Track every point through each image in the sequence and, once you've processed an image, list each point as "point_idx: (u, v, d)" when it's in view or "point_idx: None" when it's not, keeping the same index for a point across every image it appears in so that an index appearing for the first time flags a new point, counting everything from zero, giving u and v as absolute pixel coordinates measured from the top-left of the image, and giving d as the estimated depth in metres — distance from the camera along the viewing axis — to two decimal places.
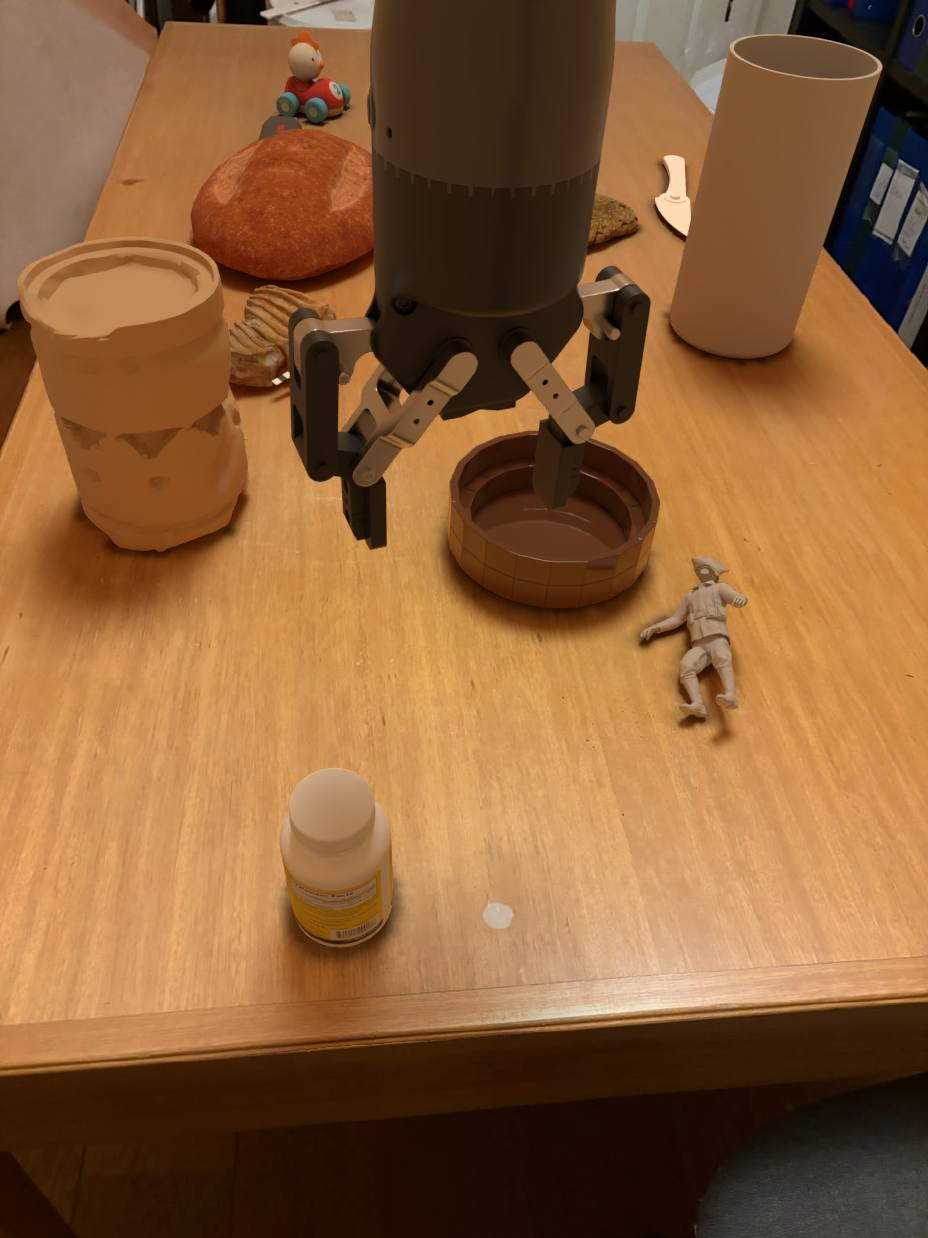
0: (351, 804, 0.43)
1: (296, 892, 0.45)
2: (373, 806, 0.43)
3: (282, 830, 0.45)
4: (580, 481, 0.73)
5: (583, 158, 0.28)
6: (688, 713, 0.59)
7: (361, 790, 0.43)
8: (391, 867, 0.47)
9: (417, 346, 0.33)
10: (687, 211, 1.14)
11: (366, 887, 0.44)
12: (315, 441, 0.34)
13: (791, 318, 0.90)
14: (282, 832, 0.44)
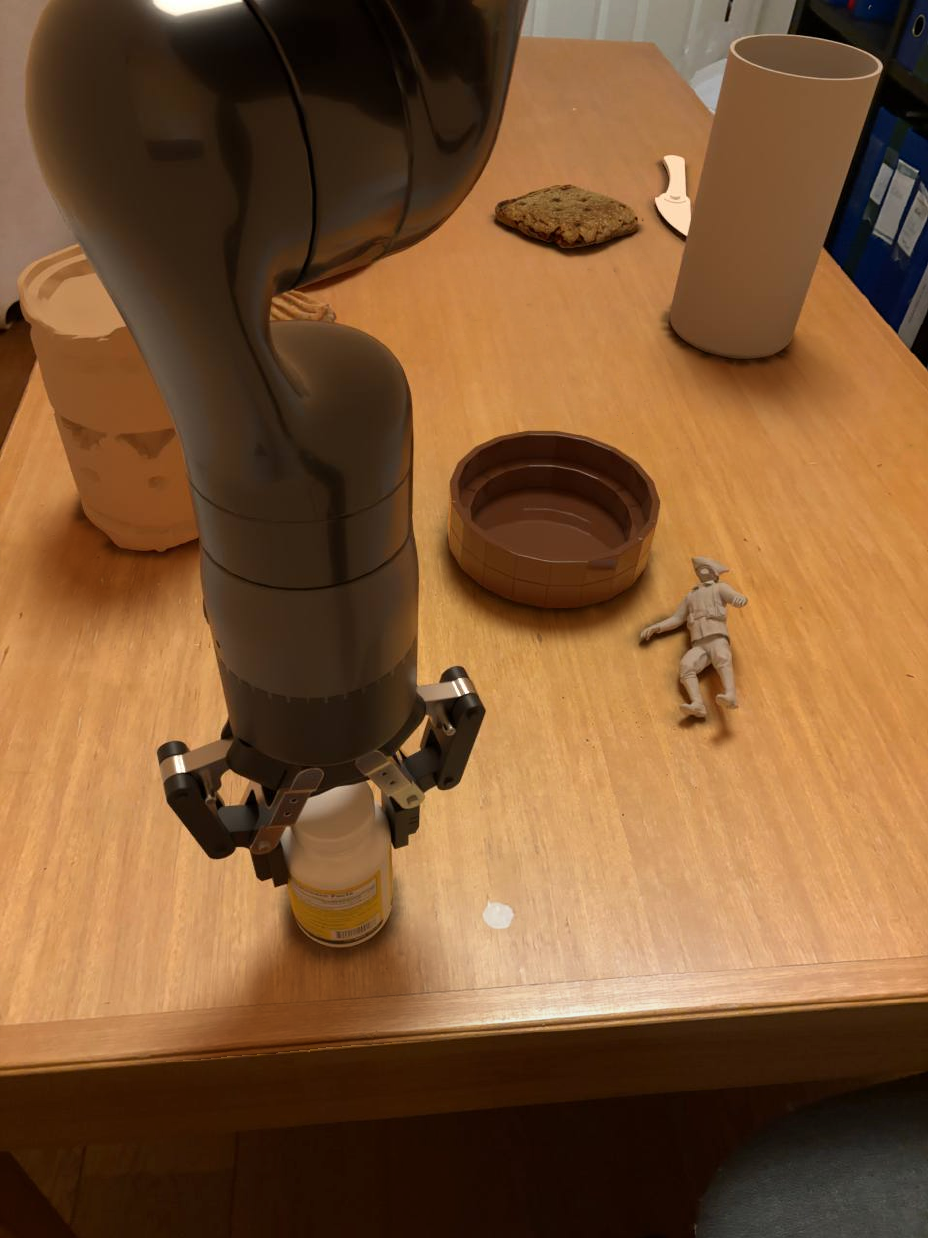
0: (351, 804, 0.43)
1: (296, 892, 0.45)
2: (373, 806, 0.43)
3: None
4: (580, 481, 0.73)
5: (391, 660, 0.32)
6: (688, 713, 0.59)
7: (361, 790, 0.43)
8: (391, 867, 0.47)
9: (267, 762, 0.37)
10: (687, 211, 1.14)
11: (366, 887, 0.44)
12: (205, 840, 0.39)
13: (791, 318, 0.89)
14: None
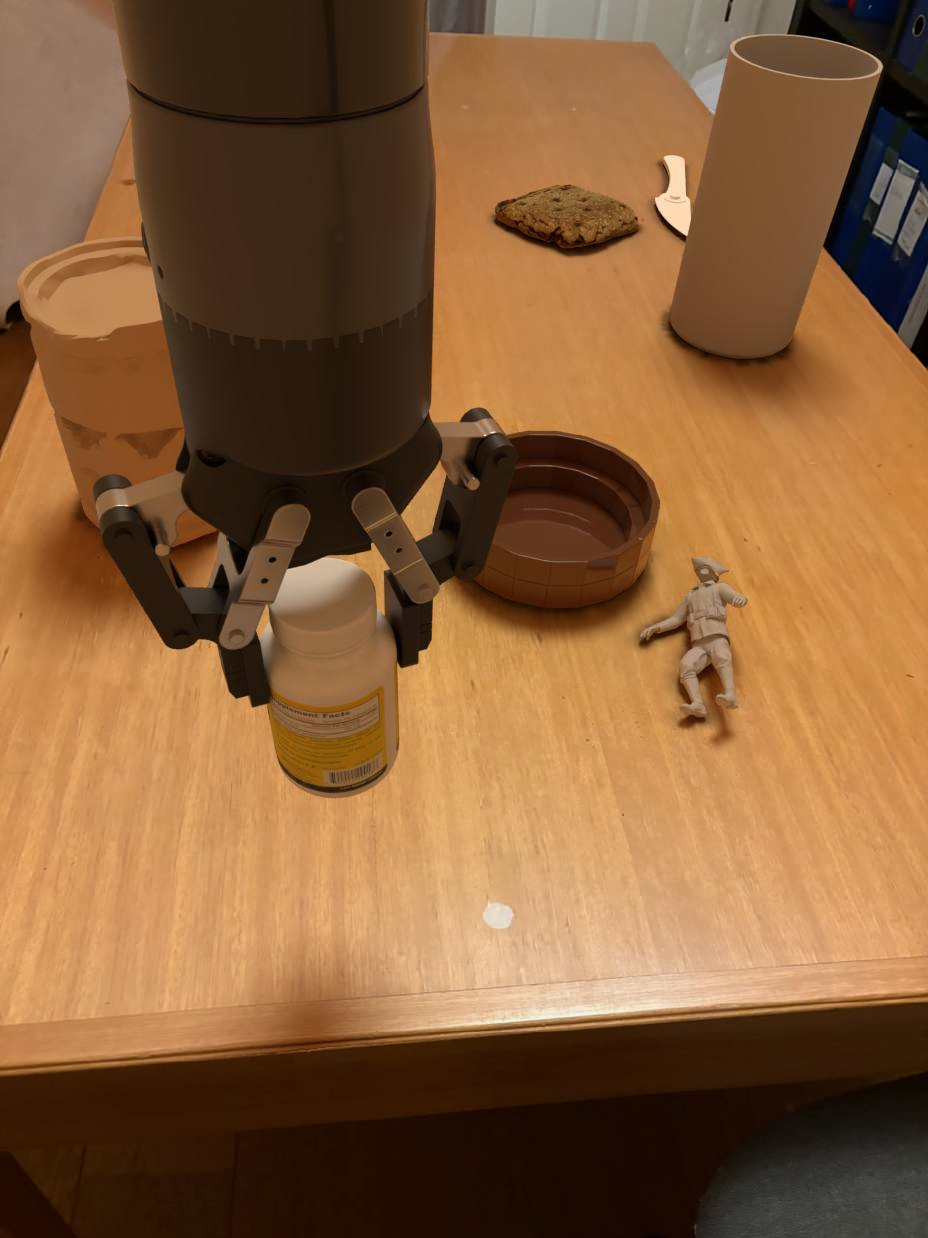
0: (347, 595, 0.34)
1: (279, 718, 0.36)
2: (374, 597, 0.34)
3: (261, 638, 0.36)
4: (580, 481, 0.73)
5: (399, 299, 0.23)
6: (688, 713, 0.59)
7: (359, 580, 0.35)
8: (397, 694, 0.38)
9: (236, 497, 0.28)
10: (687, 211, 1.14)
11: (366, 707, 0.36)
12: (159, 615, 0.30)
13: (791, 318, 0.89)
14: (261, 640, 0.36)
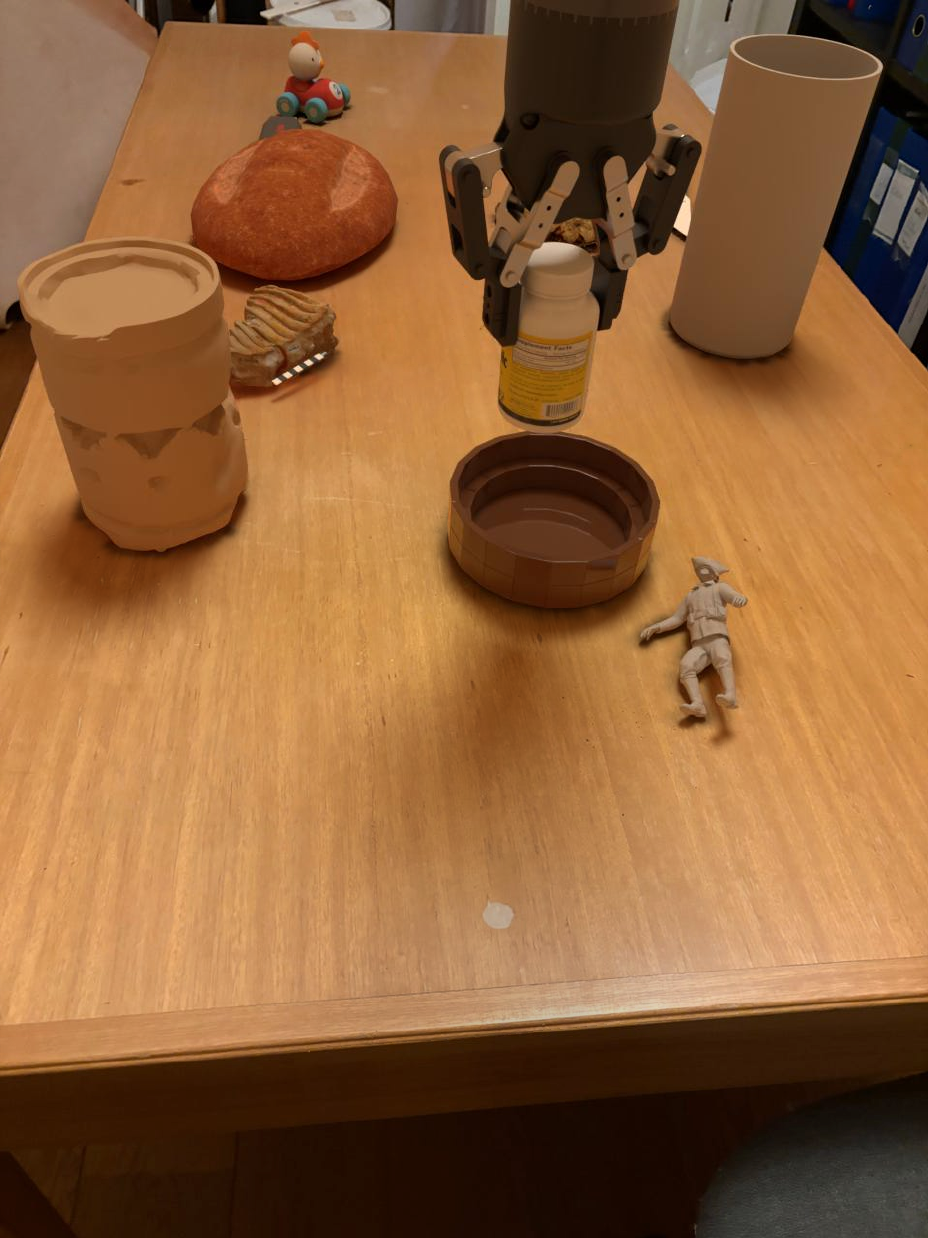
0: (575, 259, 0.50)
1: (518, 357, 0.53)
2: (593, 261, 0.50)
3: None
4: (580, 481, 0.73)
5: None
6: (688, 713, 0.59)
7: (581, 252, 0.51)
8: (593, 352, 0.54)
9: (535, 157, 0.45)
10: (687, 211, 1.14)
11: (581, 345, 0.52)
12: (472, 246, 0.47)
13: (791, 318, 0.89)
14: None
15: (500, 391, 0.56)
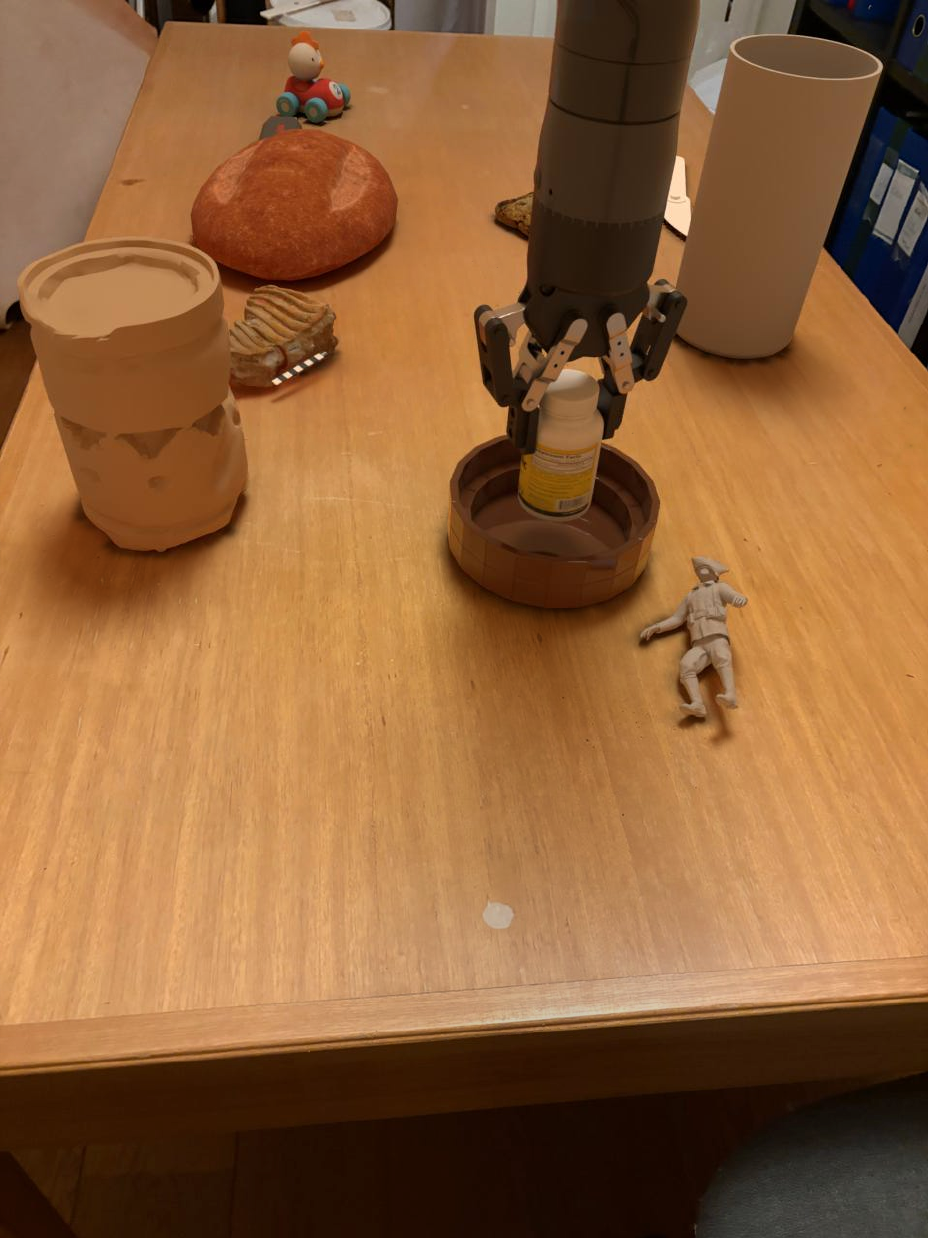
0: (583, 385, 0.61)
1: (536, 463, 0.63)
2: (598, 387, 0.61)
3: None
4: None
5: (659, 205, 0.50)
6: (688, 713, 0.59)
7: (588, 379, 0.62)
8: None
9: (552, 315, 0.55)
10: (687, 211, 1.14)
11: (589, 454, 0.62)
12: (500, 383, 0.57)
13: (791, 318, 0.89)
14: None
15: (520, 487, 0.66)
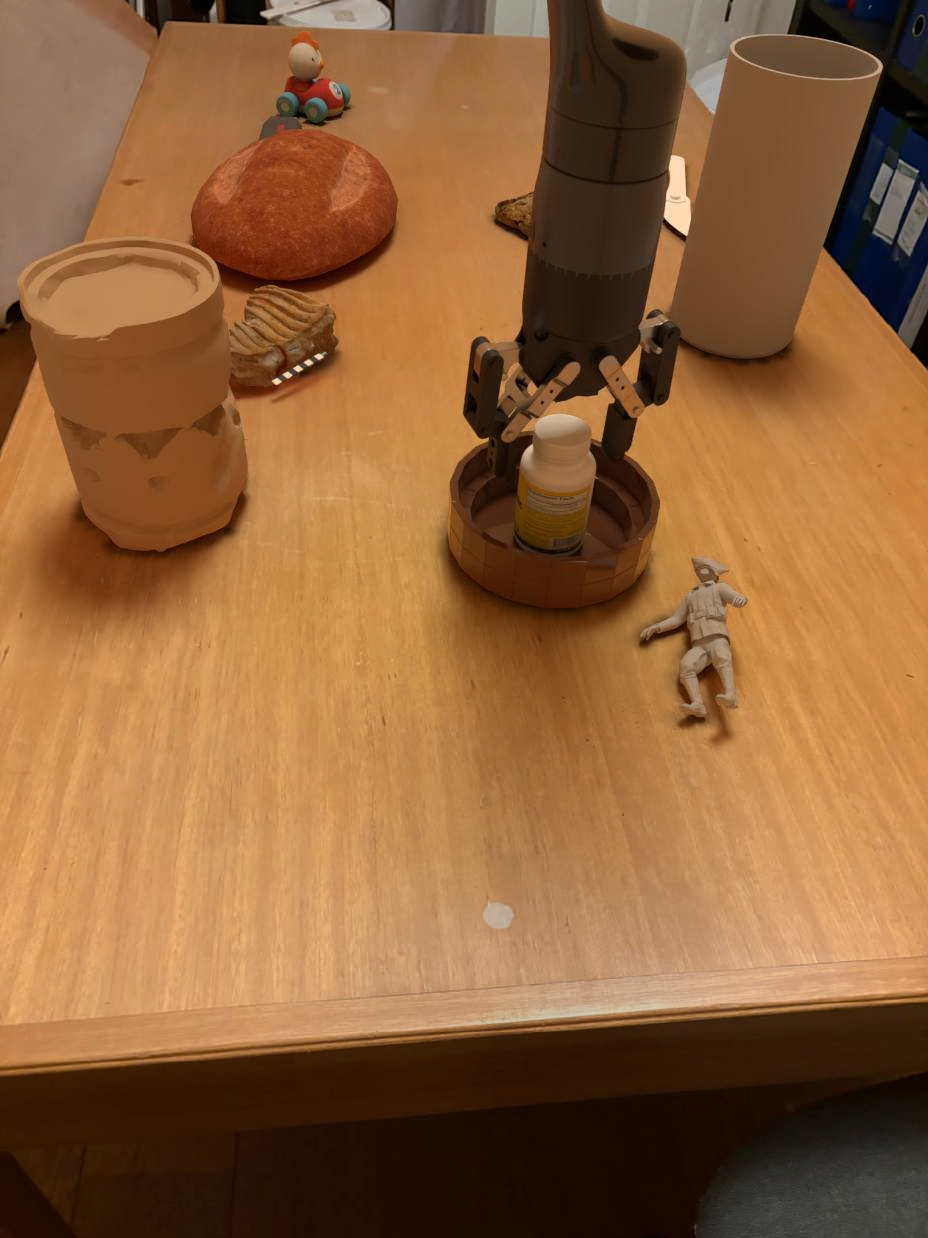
0: (576, 431, 0.64)
1: (531, 503, 0.66)
2: (591, 432, 0.64)
3: (523, 458, 0.65)
4: None
5: (648, 257, 0.53)
6: (688, 713, 0.59)
7: (581, 424, 0.64)
8: (591, 496, 0.67)
9: (546, 358, 0.57)
10: (687, 211, 1.14)
11: (582, 495, 0.65)
12: (483, 414, 0.59)
13: (791, 318, 0.89)
14: (523, 459, 0.65)
15: (516, 524, 0.69)
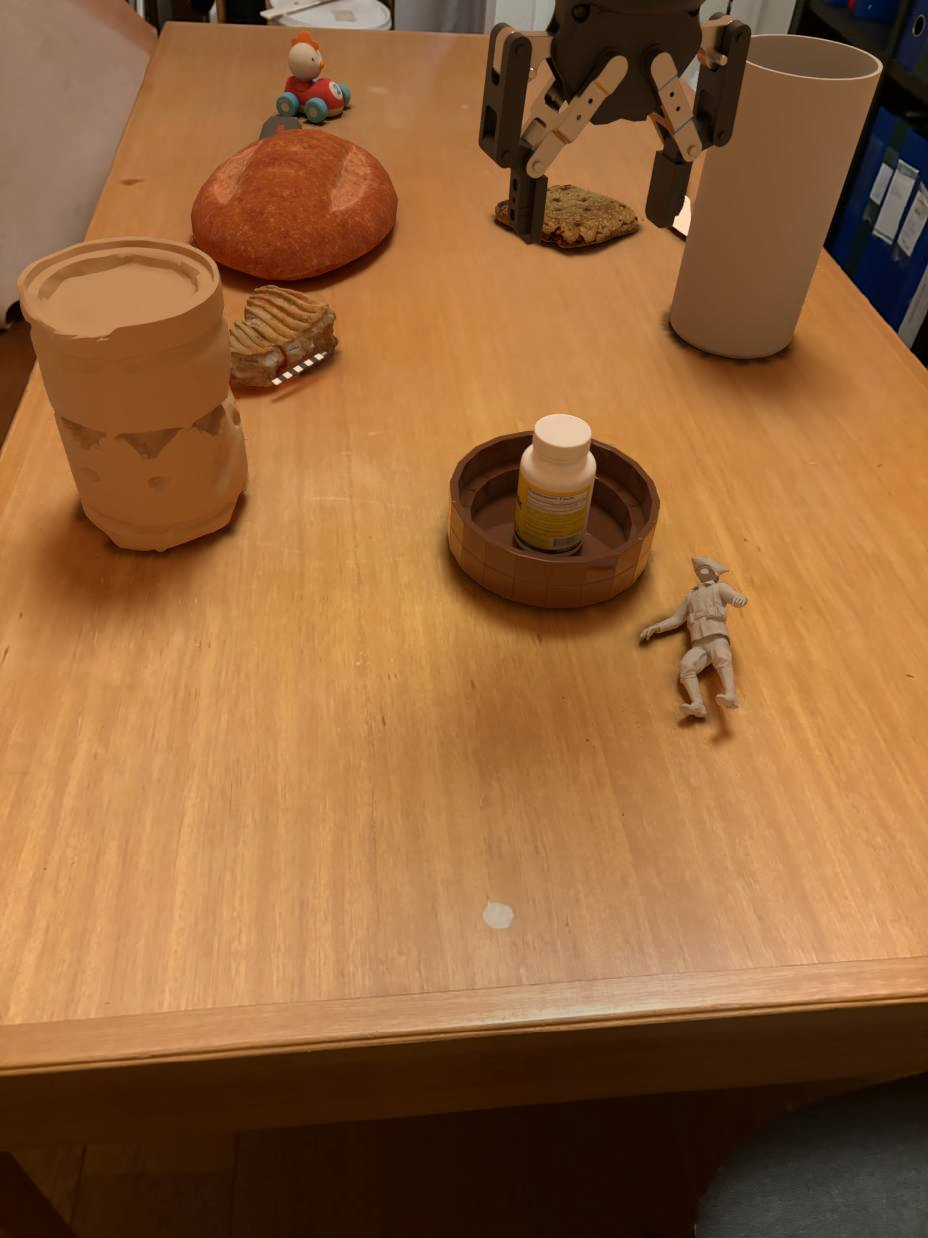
0: (576, 431, 0.64)
1: (531, 503, 0.66)
2: (591, 432, 0.64)
3: (523, 458, 0.65)
4: None
5: None
6: (688, 713, 0.59)
7: (581, 424, 0.64)
8: (591, 496, 0.67)
9: (585, 51, 0.45)
10: (687, 211, 1.14)
11: (582, 495, 0.65)
12: (505, 128, 0.47)
13: (791, 318, 0.89)
14: (523, 459, 0.65)
15: (516, 524, 0.69)
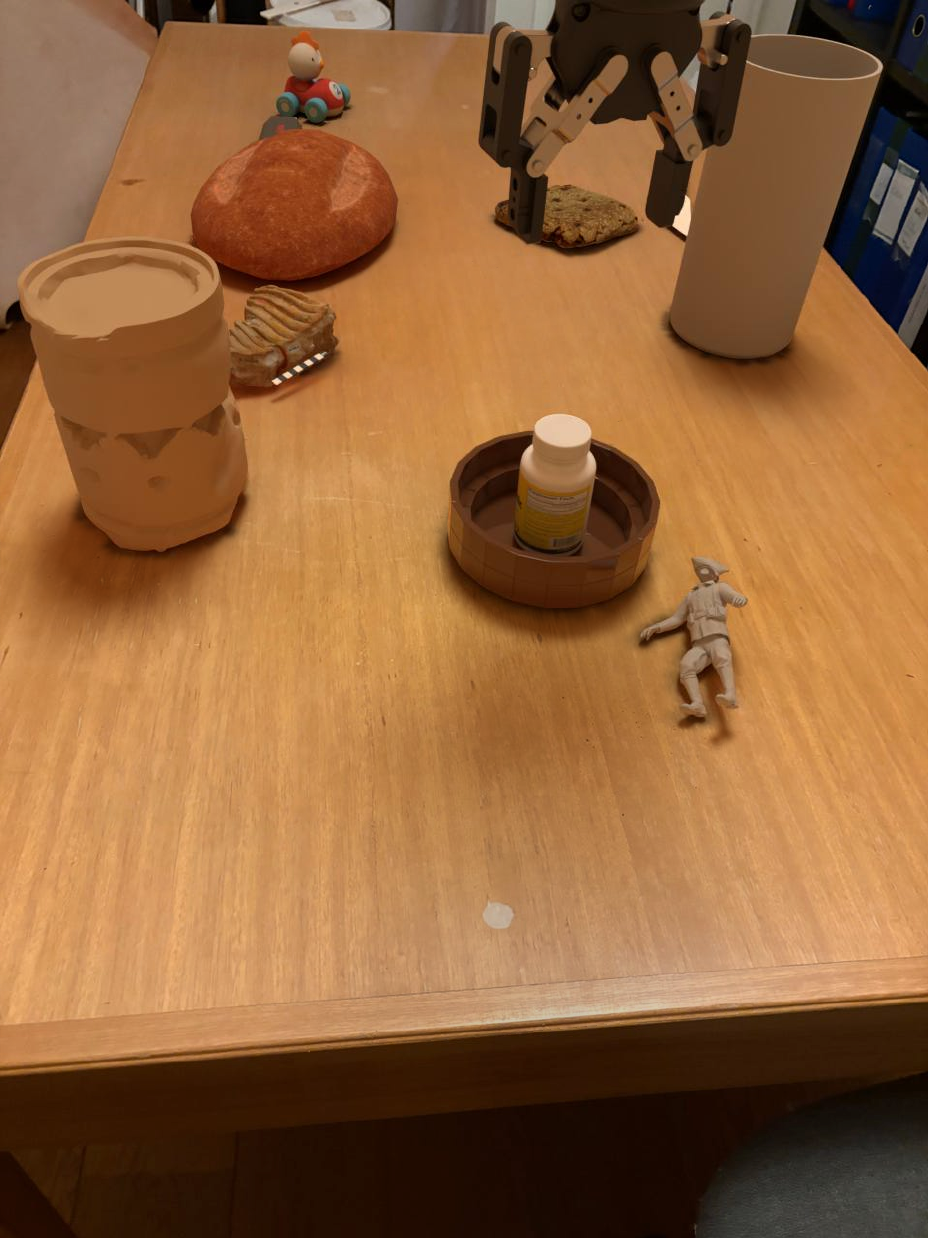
0: (576, 431, 0.64)
1: (531, 503, 0.66)
2: (591, 432, 0.64)
3: (523, 458, 0.65)
4: None
5: None
6: (688, 713, 0.59)
7: (581, 424, 0.64)
8: (591, 496, 0.67)
9: (585, 50, 0.45)
10: (687, 211, 1.14)
11: (582, 495, 0.65)
12: (505, 128, 0.46)
13: (791, 318, 0.89)
14: (523, 459, 0.65)
15: (516, 524, 0.69)
